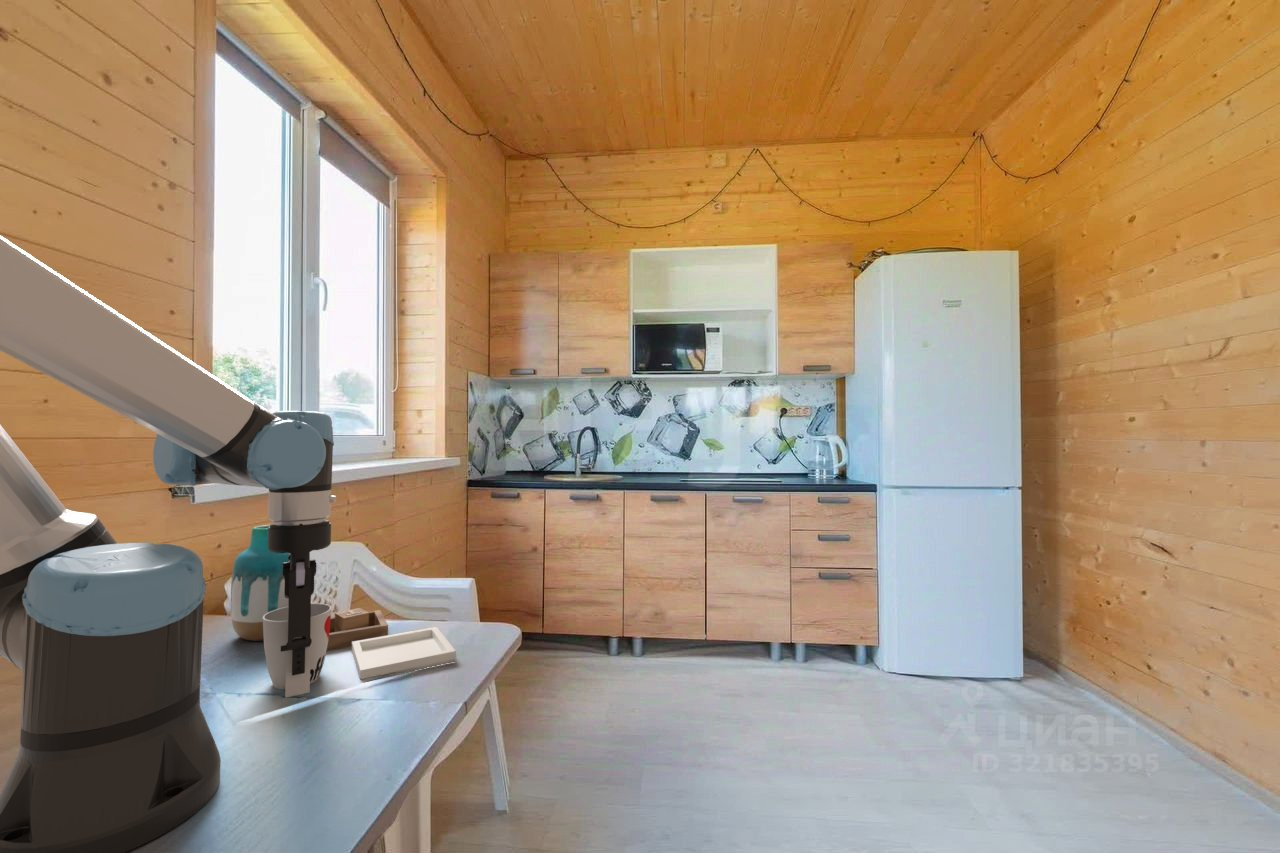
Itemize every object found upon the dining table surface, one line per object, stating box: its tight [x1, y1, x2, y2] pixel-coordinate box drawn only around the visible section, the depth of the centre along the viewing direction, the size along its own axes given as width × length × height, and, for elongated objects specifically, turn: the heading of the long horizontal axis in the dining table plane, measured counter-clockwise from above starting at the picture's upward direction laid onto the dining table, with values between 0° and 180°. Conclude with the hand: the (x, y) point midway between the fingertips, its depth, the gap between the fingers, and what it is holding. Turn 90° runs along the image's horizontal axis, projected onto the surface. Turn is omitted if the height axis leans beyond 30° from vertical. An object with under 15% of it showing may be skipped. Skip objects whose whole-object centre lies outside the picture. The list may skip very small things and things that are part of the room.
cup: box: [263, 603, 332, 690], centre depth 75 cm, size 8×8×10 cm
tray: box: [351, 626, 457, 684], centre depth 84 cm, size 13×13×2 cm
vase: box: [230, 524, 290, 642], centre depth 93 cm, size 11×11×19 cm
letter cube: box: [334, 607, 369, 632], centre depth 91 cm, size 4×4×4 cm
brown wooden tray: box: [326, 609, 389, 652], centre depth 91 cm, size 10×10×3 cm
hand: (297, 682), depth 75 cm, fingers open, 9 cm apart
